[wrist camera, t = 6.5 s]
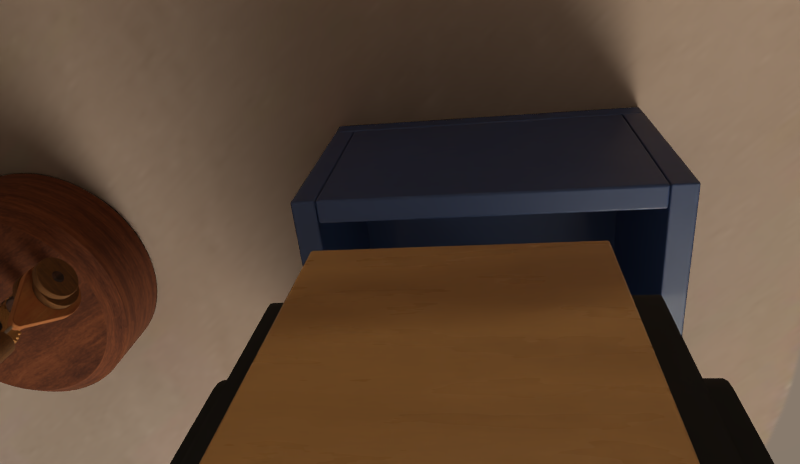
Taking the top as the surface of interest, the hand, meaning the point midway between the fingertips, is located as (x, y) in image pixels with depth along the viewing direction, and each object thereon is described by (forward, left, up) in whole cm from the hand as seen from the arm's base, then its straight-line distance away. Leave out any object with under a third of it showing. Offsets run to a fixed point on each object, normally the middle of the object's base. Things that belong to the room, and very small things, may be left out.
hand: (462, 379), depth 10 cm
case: (+8, +2, -17) cm, 19 cm away
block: (0, 0, 0) cm, 0 cm away
